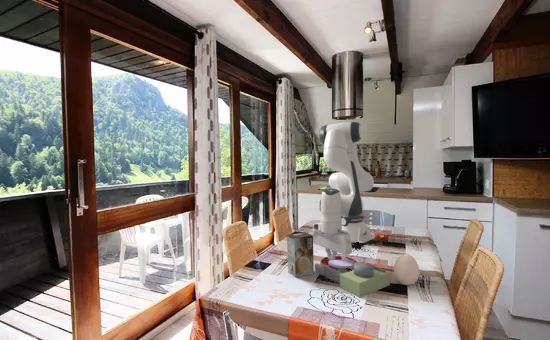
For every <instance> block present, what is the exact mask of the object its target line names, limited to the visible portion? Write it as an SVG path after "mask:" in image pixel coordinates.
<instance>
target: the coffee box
mask: <svg viewBox="0 0 550 340" xmlns="http://www.w3.org/2000/svg"><path fill="white" fill-rule="evenodd" d="M286 240H287V241H286V242H287V244H286V245H287V246H286V247H287V252H286V253H287V273H288V274H289V275H290V276H293V277H294V278H300V277H304V276H307V275H308V276H309V275H312V274H315V263H314V242H313V234H310V233H309V232H305V231H303V232H296V233H291V234H287V235H286Z"/></svg>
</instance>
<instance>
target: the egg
mask: <svg viewBox="0 0 550 340" xmlns="http://www.w3.org/2000/svg"><path fill="white" fill-rule="evenodd" d="M393 273H394V276H395V278H396V279H397V281H398V282H399V283H400V284H402V285H405V286H411V285H413V284H415V283H417V282H418V279H419V277H420V266H419V264H418V262H417V260H416V259H415V257H413V255H411V254H409V253H403V254H401V255H399V256H397V258H396V260H395V263H394V265H393Z"/></svg>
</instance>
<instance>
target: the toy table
mask: <svg viewBox="0 0 550 340" xmlns="http://www.w3.org/2000/svg"><path fill="white" fill-rule="evenodd" d="M327 263H328V266H329V267H331V268H333V269H335V270H337V271H339V272H341V273H346V272H349V270H348V269H346V268H352V267H353V263H351V262H348V261H344V260H342V259H335V260H331V259H329V260H328V262H327Z"/></svg>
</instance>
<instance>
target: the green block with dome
mask: <svg viewBox="0 0 550 340" xmlns="http://www.w3.org/2000/svg"><path fill="white" fill-rule="evenodd" d="M389 286H391V271H389V270H386V269H384V268H383V267H379V266H377V265H373V264H371V263H369V262H363V261H361V262H357V263H355V264H354V270H352V271H351V270H348V272H346V273H343V274H340V283H339V288H340V289H341V290H344V291H346V292H347V293H350V294H351V295H353V296H355V297H357V298H362V297H364V296H367V295H369V294H372V293H374V292H376V291H379V290H382V289H383V288H387V287H389Z"/></svg>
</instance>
